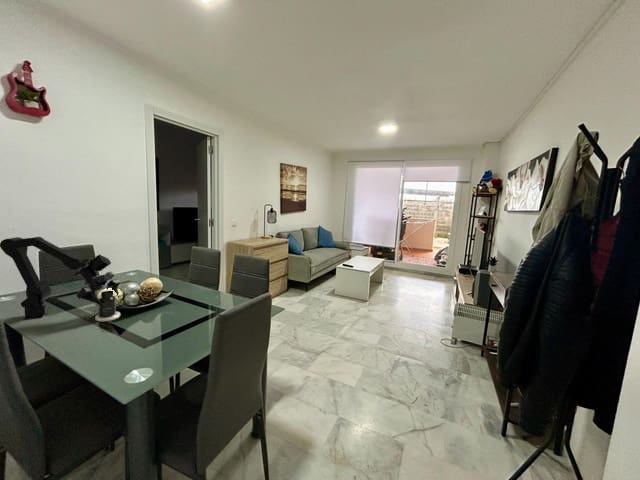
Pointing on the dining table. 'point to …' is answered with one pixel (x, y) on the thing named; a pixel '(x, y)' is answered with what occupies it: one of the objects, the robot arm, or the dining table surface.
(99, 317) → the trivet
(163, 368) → the dining table surface
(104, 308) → the supplement bottle
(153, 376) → the dining table surface
